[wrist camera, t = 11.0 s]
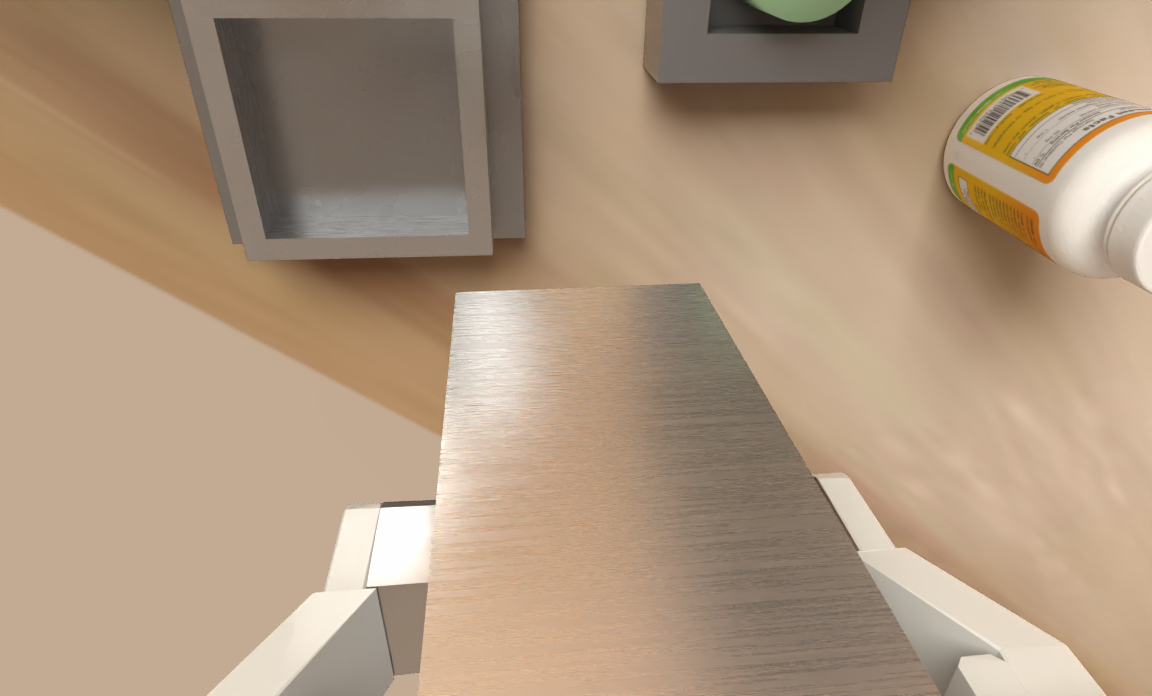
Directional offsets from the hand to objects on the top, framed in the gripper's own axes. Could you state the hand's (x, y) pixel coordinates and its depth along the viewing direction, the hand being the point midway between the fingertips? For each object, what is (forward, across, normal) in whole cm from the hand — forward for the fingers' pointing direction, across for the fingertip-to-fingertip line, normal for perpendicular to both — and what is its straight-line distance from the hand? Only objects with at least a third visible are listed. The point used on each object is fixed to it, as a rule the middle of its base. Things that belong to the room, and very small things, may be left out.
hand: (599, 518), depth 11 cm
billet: (+4, 0, 0) cm, 4 cm away
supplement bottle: (+19, -19, 0) cm, 27 cm away
